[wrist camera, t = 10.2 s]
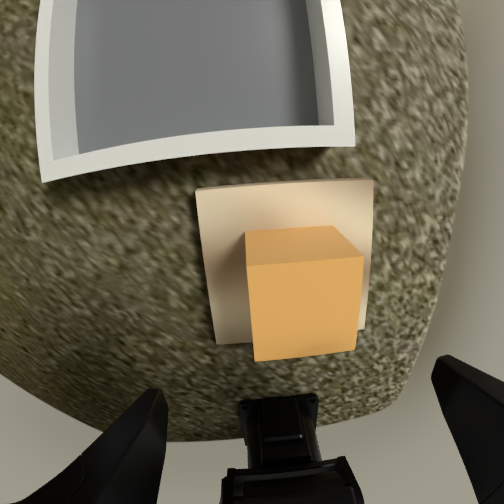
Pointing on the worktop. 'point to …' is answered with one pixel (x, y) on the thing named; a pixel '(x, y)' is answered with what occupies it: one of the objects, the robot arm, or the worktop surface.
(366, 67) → the worktop surface
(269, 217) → the pad
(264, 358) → the block
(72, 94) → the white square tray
